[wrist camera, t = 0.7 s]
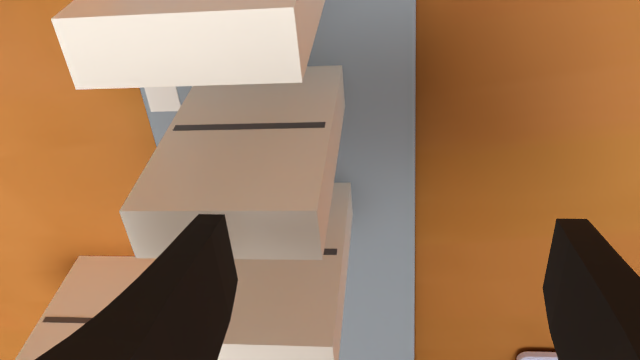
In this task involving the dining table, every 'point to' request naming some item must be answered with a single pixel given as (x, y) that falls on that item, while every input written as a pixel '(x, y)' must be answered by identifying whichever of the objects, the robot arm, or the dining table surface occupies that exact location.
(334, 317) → the domino
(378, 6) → the domino board
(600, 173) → the dining table surface
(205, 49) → the end domino
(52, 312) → the placed domino
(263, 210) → the domino
